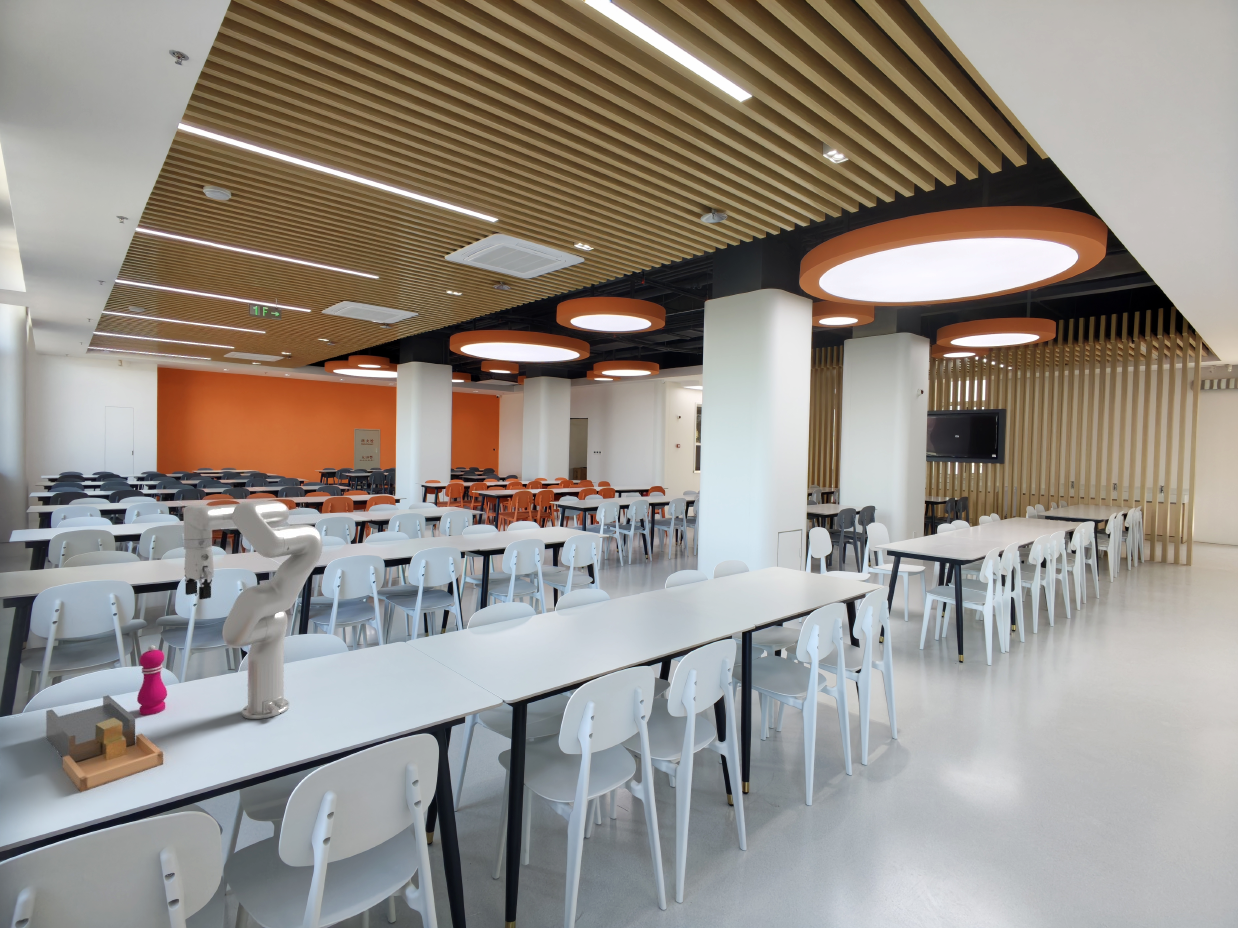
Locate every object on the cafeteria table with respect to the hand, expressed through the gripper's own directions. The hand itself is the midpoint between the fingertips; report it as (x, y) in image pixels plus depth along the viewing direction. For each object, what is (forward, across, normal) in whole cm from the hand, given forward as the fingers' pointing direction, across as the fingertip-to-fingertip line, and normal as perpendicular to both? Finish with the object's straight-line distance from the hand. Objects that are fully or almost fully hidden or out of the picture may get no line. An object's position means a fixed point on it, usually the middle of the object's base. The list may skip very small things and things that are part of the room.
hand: (198, 596), depth 197 cm
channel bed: (+32, -12, +31) cm, 46 cm away
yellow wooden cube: (+29, -25, +30) cm, 49 cm away
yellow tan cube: (+27, -25, +31) cm, 48 cm away
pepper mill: (+32, -3, +14) cm, 35 cm away
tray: (+32, -32, +32) cm, 56 cm away
